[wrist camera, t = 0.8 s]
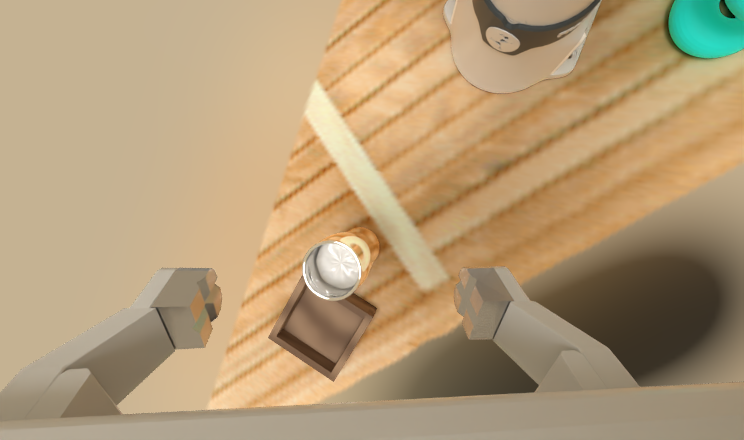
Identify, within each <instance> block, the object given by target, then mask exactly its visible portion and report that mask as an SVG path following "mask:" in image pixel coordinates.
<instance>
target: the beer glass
mask: <svg viewBox="0 0 744 440" xmlns="http://www.w3.org/2000/svg"><path fill="white" fill-rule="evenodd" d="M379 251H380V244H379V240H378V238H377V236H376V235H375V234H374V233H373V232H372V231H371V230H369V229H367V228H363V227H356V228H353V229H351V230H349V231H348V232H340V233H336V234H333V235H330V236H328V237H326V238H324V239H323V240H321V241H320V242H318V243H317V244H315V245H314V246H313V247H311V248H310V249H309V251H308V252H307V253H306V255H305V257H304V260H303V264H302V274H303V278H304V281H305V283H306V285H307V287H308V288H309V289H310V290H311V292H312V293H314V294H315V295H316V296H318V297H320V298H322V299H324V300H329V301H338V300H342V299H345V298H347V297H349V296H350V295H351V294H352V293H353V292H354V291H355V290H356V289H357V288H358V287H359V286H360V285H361V284H362V283H363V282H364V281H365V279H366V278H367V276H368V274H369V272H370V270H371V266H372V263H373V262H374V261H375V260H376V258H377V257H378V254H379Z"/></svg>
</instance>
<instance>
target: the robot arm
mask: <svg viewBox="0 0 744 440" xmlns="http://www.w3.org/2000/svg"><path fill="white" fill-rule="evenodd" d="M601 1H602V0H448V1H447V2H446V4H445V6H444V9H443V17H444V19H445V22H446V24H447V26H448V28H449V30H450V34H451V49H452V55H453V59H454V62H455V64H456V66H457V68H458V70H459V71H460V73H461V74H462V76H463V77H464V78H465V79H466V80H467V81H468V82H470V83H471V84H472V85H474V86H476V87H477V88H479V89H482V90H484V91H488V92H492V93H512V92H517V91H520V90H523V89H526V88H528V87H530V86H532V85H534V84H536V83H538V82H540V81H542V80H545V79H553V78H560V77H564V76H566V75H568V74H569V73H570V72H571V71H572V70H573V69H574V67H575V65H576V63H577V60H578V58H579V55H580V53H581V50H582V48H583V45H584V43H585V40H586V38H587V35H588V33H589V31H590V28H591V26H592V23H593V21H594V18H595V16H596V13H597V11H598V8H599V6H600V3H601ZM569 56H570V59H567V58H568V57H569ZM459 278H460V280H461V281H460V282H459V283H458V284H457V285H456V286H455V290H454V302H455V306H456V309H457V312H458V313H460V314H461V315H462V316H463V317H464V318H463V321H462V324H463V327H464V329H465V332H466V334H467V337H468V339H493V341H494V342H495V343H496V344H497V345H498V346H499V347H500V348H501V349H502V350H503V351H504V352H505V353H506V354H507V355H508V356H510V357H511V358H512V359H513V360H514V361H515V362H516V363H517V364H518V365H519V366H520V367H521V368H522V369H523V370H524V371H525V372H526V373H527V374H528V375H529V376H530V377H531V378H532V379H533V380H534V381H535V382H536V383H537V384H538V385H539V387H538V388H537V390H536V391H535V393H519V394H500V395H481V396H463V397H444V398H426V399H408V400H407V399H406V400H388V401H370V402H350V403H333V404H332V403H331V404H312V405H293V406H274V407H255V408H236V409H217V410H198V411H179V412H161V413H141V414H122V413H121V411H120V410H119V409H118V407H117V406H116V405H117V404H119V403H120V402H121V401H122V400H123V399H124V398H125V397H126V396H127V395H128V394H129V393H130V392H131V391H133V390H134V389H135V388H136V387H137V386H138V385H139V384H140V383H141V382H142V381H143V380H144V379H145V378H146V377H148V376H149V375H150V373H152V372H153V371H154V370H155V369H156V368H157V367H158V366H159V365H160V364H161V363H163V362H164V361H165V360H166V359H167V358H168V357H169V356H170V355H171V354H172V353H173V352H174V351H175V350H174V349H189V348H204V347H205V346H206V344H207V342H208V339H209V337H210V334H211V332H212V329H213V328H212V325H211V322H212V321H213V320H214V319H216V318H217V317H218V315H219V312H220V310H221V304H222V293H221V289H220V287H219V286H217V285H216V284H215V282H216V280H217V275H216V272H215V270H214V269H212V268H161V269H159V270H158V271H157V272H156V273H155V274H154V276H153V277H152V278H151V280H150V281H149V282H148V284H147V285H146V287H145V288H144V289H143V291H142V292H141V293H140V295H139V296H138V298H137V299H136V300H135V302H134V303H133V304H132V306H131V307H130V308H125V309H123V310H121V311H119V312H117V313H116V314H114V315H112V316H111V317H109V318H107V319H105V320H104V321H102V322H100V323H99V324H97V325H95V326H94V327H92V328H90V329H89V330H87V331H85V332H84V333H82V334H80V335H78V336H77V337H75V338H74V339H72V340H70V341H68V342H67V343H65V344H63V345H62V346H60V347H58V348H57V349H55V350H53V351H51V352H50V353H48V354H46V355H45V356H43V357H41V358H40V359H38V360H36V361H35V362H33V363H31V364H30V365H28V366H26V367H25V368H23V369H21V371H20V372H19V373H18V374H17V375H16V376H15V377H14V378H13V379H12V380H11V382H10V383H9V384H8V385H7V386H6V387H5V388H4V389H3V390H2V391H1V392H0V440H744V382H728V383H711V384H709V383H708V384H692V385H691V384H690V385H673V386H653V387H640V386H639V385H638V384H637V383H636V382H635V380H634V379H633V378H632V376H631V375H630V374H629V373H628V372H627V370H626V369H625V368H624V367H623V365H622V364H621V363H620V362H619V361H618V359H617V358H616V357H615V355H614V354H613V353H612V352H611V351H610V349H609V348H607V347H606V346H604V345H603V344H601V343H599V342H598V341H596V340H595V339H593V338H592V337H590V336H588V335H587V334H585V333H584V332H582V331H581V330H579V329H578V328H576V327H574V326H573V325H571V324H570V323H568V322H567V321H565V320H563V319H562V318H560V317H559V316H557V315H555V314H554V313H552V312H551V311H549V310H548V309H546V308H545V307H543V306H541V305H540V304H538V303H537V302H535V301H530V300H529V298H528V297H527V296H526V294H525V293H524V291H523V290H522V288H521V287H520V285H519V284H518V282H517V281H516V279H515V278H514V276H513V275H512V273H511V272H510V270H509V269H508V268H507V267H505V266H497V267H463V268H462V269H461V270H460V273H459Z"/></svg>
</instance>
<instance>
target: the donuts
mask: <svg viewBox="0 0 744 440" xmlns="http://www.w3.org/2000/svg"><path fill="white" fill-rule="evenodd" d="M719 2H720V0H675V1H674V3H673V5H672V8H671V11H670V15H669V22H668V25H669V32H670V35H671V38H672V40H673V41H674V43H675V44H676V45H677V46H678V47H679V48H680V49H681V50H682V51H684V52H685V53H687V54H689V55H692V56H695V57H700V58H719V57H724V56H728V55H731V54H734V53H736V52H738V51H741V50H742V49H744V0H725V3H726V5H727V7H728V8H729V10H730V11H731V12H732V13H733V14H734V15H735V18H727V17H725V16H724V15H723V14H722V13H721V12H720V9H719Z"/></svg>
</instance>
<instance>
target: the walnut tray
mask: <svg viewBox="0 0 744 440" xmlns="http://www.w3.org/2000/svg"><path fill="white" fill-rule="evenodd" d="M376 309H377V308H376V307H374V306H372V305H371V304H369V303H368V302H366V301H364V300H363V299H361V298H360V297H358V296H357V295H355V294H353V293H352V294H351V295H350V296H349V297H347V298H345V299H342V300H338V301H329V300H324V299H322V298H320V297H318V296H316V295H315V294H314V293H312V292H311V290H310V289H309V288H308V287H307V285H306V283H305V281H304V278H303V275H302V277H301V279H300V281H299V283H298V284H297V286H296V288H295V290H294V292H293V293H292V295H291V297H290V299H289V301H288V302H287V304H286V306H285V308H284V310H283V312H282V313H281V315H280V317H279V319H278V321H277V322H276V324H275V326H274V328H273V330H272V331H271V333H270V335H269V337H268V338H269V339H271V340H272V341H274V342H275V343H277V344H278V345H280V346H281V347H283V348H284V349H286V350H287V351H289V352H290V353H292V354H293V355H295V356H296V357H298V358H299V359H301V360H302V361H304V362H305V363H306V364H308V365H309V366H311V367H312V368H314V369H315V370H317V371H318V372H320V373H321V374H323V375H324V376H326V377H327V378H329V379H330V380H332V381H333V382H334V380H335V379H336V377H337V375H338V374H339V372H340V370H341V369H342V367H343V366H344V364H345V362H346V361H347V359H348V357H349V356H350V354H351V352H352V351H353V349H354V348H355V346H356V344H357V343H358V341H359V339H360V338H361V336H362V335H363V333H364V331H365V330H366V328H367V326H368V325H369V323H370V321H371V320H372V318H373V316H374V314H375V312H376Z"/></svg>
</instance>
